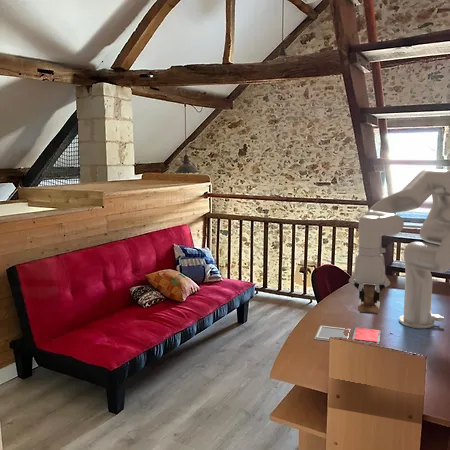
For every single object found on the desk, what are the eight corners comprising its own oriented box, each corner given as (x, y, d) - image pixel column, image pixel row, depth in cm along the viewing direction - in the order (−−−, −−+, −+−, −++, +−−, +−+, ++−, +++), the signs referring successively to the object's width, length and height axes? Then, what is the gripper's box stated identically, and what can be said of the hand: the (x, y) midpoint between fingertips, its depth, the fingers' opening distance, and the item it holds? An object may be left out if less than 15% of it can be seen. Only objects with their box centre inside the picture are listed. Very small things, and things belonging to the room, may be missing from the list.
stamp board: (352, 329, 172) (352, 328, 172) (348, 343, 160) (348, 342, 160) (320, 325, 176) (320, 324, 176) (314, 339, 164) (314, 337, 164)
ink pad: (380, 333, 168) (380, 329, 168) (379, 347, 157) (379, 342, 157) (355, 330, 171) (355, 326, 171) (351, 343, 160) (351, 339, 160)
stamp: (379, 307, 165) (380, 282, 163) (378, 315, 158) (379, 289, 156) (359, 306, 167) (359, 281, 165) (357, 313, 161) (358, 287, 159)
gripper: (395, 249, 159) (394, 299, 162) (346, 247, 165) (346, 296, 168) (395, 255, 152) (394, 307, 156) (343, 252, 158) (343, 303, 162)
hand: (369, 301), depth 162 cm, fingers closed on stamp, 4 cm apart
